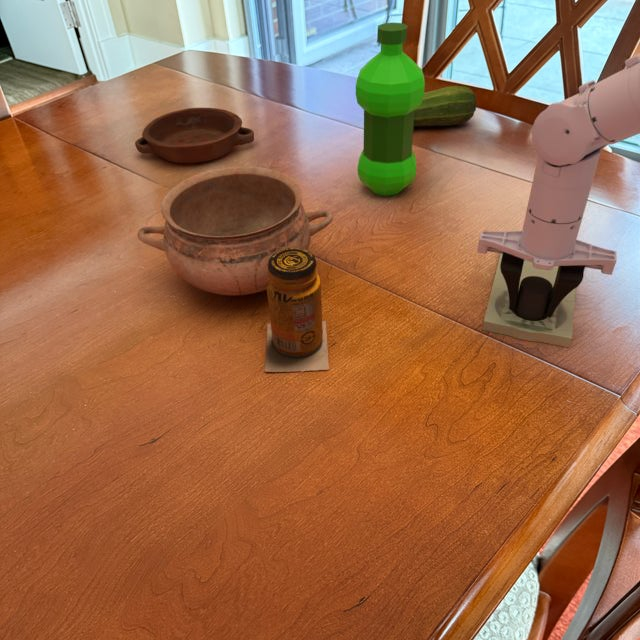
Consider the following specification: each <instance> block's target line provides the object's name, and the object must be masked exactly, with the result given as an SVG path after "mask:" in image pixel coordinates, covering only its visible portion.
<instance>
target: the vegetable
mask: <svg viewBox="0 0 640 640" xmlns="http://www.w3.org/2000/svg"><path fill="white" fill-rule="evenodd" d="M476 96H477V95H476V94H475V93H474V91H473V90H472V89H471V88H470V87H467V86H462V85H450V86H446V87H443V88H438V89H435V90H431V91H430V90H429V91H427V92H424V97H423V101H422V104H421V105H420V106H419V107H418V108H417V109H416V110H414V125H413V128H423V127H425V128H426V127H427V128H432V127H450V126H457V125H460V124H465V123H467V122H468V121H471V119H472V118H473V117H474V115H475V112H476V110H477V102H478V101H477V97H476Z"/></svg>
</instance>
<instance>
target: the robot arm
mask: <svg viewBox="0 0 640 640" xmlns="http://www.w3.org/2000/svg"><path fill="white" fill-rule="evenodd" d="M624 65H625V68H623V69H621V70H619V71H618V72H615V73H613V74H611V75H609V76H607V77H606V78H604V79H602V80H600V81H597V82H596V81H595V80H593V79H592V80H590V81H588V82H586V83H583V84H582V85H580V86H579V87H578V92H579V93H576V94H574V95H572V96H570V97H568V98H566V99H565V98H564V100H561V101H558V102H553V103H550V104H549V105H548V106H547V107H546V109H544V110H543V111H541V112H540V113H539V114H538V115H537V116H536V118H535V120H534V122H533V124H532V128H531V141H532V145H533V148H534V150H535V151H536V153H537V159H536V164H535V169H534V173H533V178H532V183H531V187H530V191H529V197H528V202H527V207H526V211H525V214H524V215H525V216H524V221H523V224H522V225H523V226H522V230H504V231H499V230H498V231H496V230H495V231H493V230H481V232H480V235H479V239H478V244H477V251H476V252H477V254H483V255H486V254H487V253H488V252H489V253H496V254H503V255H502V260H501V264H500V269H501V273H502V275H503V277H504V279H505V282H506V285H507V289H508V293H509V309H510V310H512V311H514V310H515V307H516V303H517V297H518V292H519V284H520V278H521V274H522V269H523V264H524V260H527V261H530V262H532V263H533V267H534V268H537V269H543V270H552V269H553V266H559V267H558V271H557V275H556V279H555V283H554V286H553V289H552V292H551V296H550V300H549V303H548V307H547V310H546V315H545V317H546V318H547V317H552V315H553V313H554V311H555V309H556V308H557V306H558V305H559V304H560V302H561V301H562V300H563V299H564V298H565V297H566V296H567V295H568V294H569V293H570V292H571V291H572V290H573V289H575V288H576V289H577V288H578V287H579V286H580V285H581V283H582V282H583V280H584V273H585V269H586V268H587V269H588V268H589V269H593V270H597V271H599V270H600V273H601V274H603V275H609V276H612V275H613V272H614V269H615V267H616V264H617V251H616V250H613V249H608V248H603V247H601V246H597V245H593V244H591V243H588V242H585V241H582V240H579V239H578V236H579V232H580V228H581V224H582V221H583V217H584V214H585V210H586V207H587V203H588V199H589V197H590V194H591V189H592V186H593V182H594V179H595V175H596V171H597V168H598V163H599V160H600V158H601V157H600V156H601V154H602V151H603V150H604V148H606V147H607V146H609V145H616V144H617V143H619V142H623V141H624V140H628V139H630V138H632V137H634V136H636V135H640V52H639V53H637V54H635V55H633V56H631V57H629V58H627V59H625V61H624Z"/></svg>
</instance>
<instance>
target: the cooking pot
mask: <svg viewBox="0 0 640 640" xmlns="http://www.w3.org/2000/svg"><path fill="white" fill-rule="evenodd" d="M303 198H304V197H303V190H302V188H301V186H300V184H299V183H298V182H297V181H296V180H295V179H294V178H292V177H291V176H290V175H287V174H285V173H283V172H281V171H277V170H274V169H270V168H265V167H258V166H230V167H223V168H217V169H212V170H209V171H205V172H200V173H198V174H196V175H193V176H191V177H189V178H186V179H185V180H183V181H181V182H179V183H178V184H176V185H175V186H174V187H172V188H171V189H170V190H169V191H168V192H167V193H166V195H165V196H164V197H163V199H162V203H161V205H160V206H161V215H162V216H163V219H164V220H165V221H164V222H165V223H164V225H161V226H143V227H141V228H140V229H138V231H137V239H138V240H139V241H140V242H141V243H144V245H145V244H146V245H147V246H150V247H152V248H154V249H157V250H159V251H162V252H164V253H165V255H166V258H167V261H168V263H169V264H170V266H171V267H172V269H173V270H174V271H175V272H176V274H178V276H179V277H180V278H182V279H183V280H184V281H185V282H187V283H188V284H189V285H190V286H193V287H195V288H197V289H198V290H201V291H204V292H208V293H210V294H214V295H219V296H232V297H233V296H245V295H251V294H256V293H260V292H263V291H267V280H268V278H269V276H268V272H269V270H268V261H269V259H270V257H271V256H272V255H273V254H274V253H276V252H278V251H280V250H283V249H286V248H301V249H304V250H307V251H309V247H310V244H311V237H313V236H314V235H316V234H318V233H319V232H321V231H322V230H324V229H325V228H327V227H328V226H329V225H330V224H331V223H333V220H334V215H333V213H332V212H331V211H330V210H327V209H323V210H317V211H308V212H306V210H305V208H304V205H303V203H302V202H303V200H304V199H303ZM321 218H324V219H323V220H322V221H320V222H319V223H316V224H311V222H312V221H315V220H317V219H321ZM147 234H149V235H150V234H156V235H157V234H159V235H163V238H157V239H155V238H153V237H149V236H147Z"/></svg>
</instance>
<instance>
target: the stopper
mask: <svg viewBox="0 0 640 640" xmlns="http://www.w3.org/2000/svg"><path fill="white" fill-rule="evenodd" d="M552 289H553V287H552V284H551V283H550V282H549V281H548V280H547V279H545V278H542V277H538V276H529V277H526V278H524V279H523V280H522V281H521V284H520V288H519V292H518V297H517V303H516V307H515V310H513V313H514V314H515V315H517V316H518V317H520V318H522V319H524V320H528V321H541V320H544V319H546V318H545V317H546V315H545V314H546V310H547V307H548V303H549V300H550V296H551V292H552Z"/></svg>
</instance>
